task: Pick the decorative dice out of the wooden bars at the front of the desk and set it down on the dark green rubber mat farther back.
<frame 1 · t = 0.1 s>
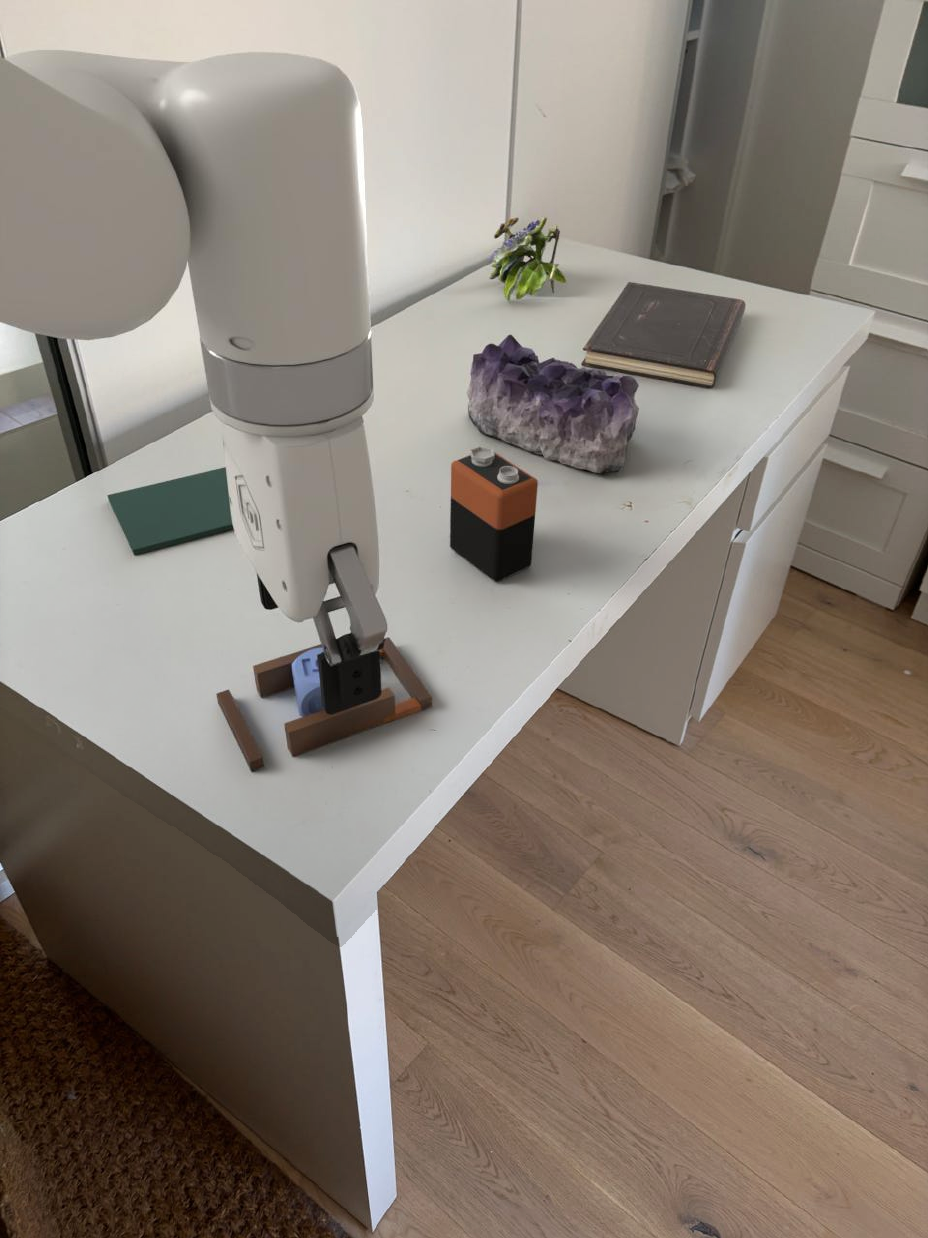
hand: (318, 649, 55), 14 cm above the table, tool pointing down, fingers open, 9 cm apart
decorative dice: (325, 706, 72), resting in wooden bars
geode: (546, 440, 103), on the table
hardcover book: (666, 341, 123), on the table
mat: (206, 505, 92), on the table
wooden bars: (325, 704, 72), on the table
battery: (489, 559, 86), on the table
passion flower: (527, 290, 135), on the table
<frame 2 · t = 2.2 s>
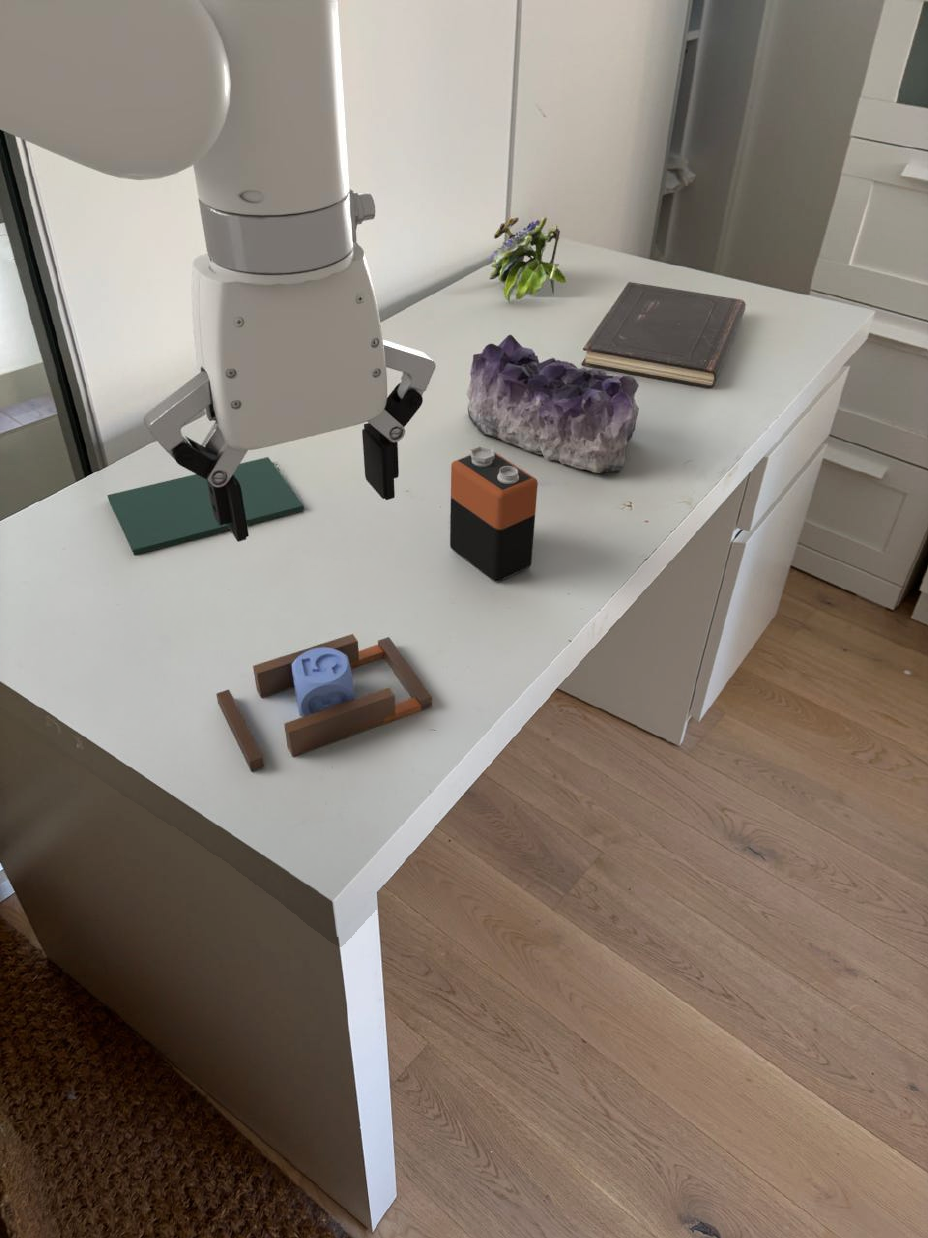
hand: (309, 508, 61), 17 cm above the table, tool pointing down, fingers open, 9 cm apart
nothing on the table moved.
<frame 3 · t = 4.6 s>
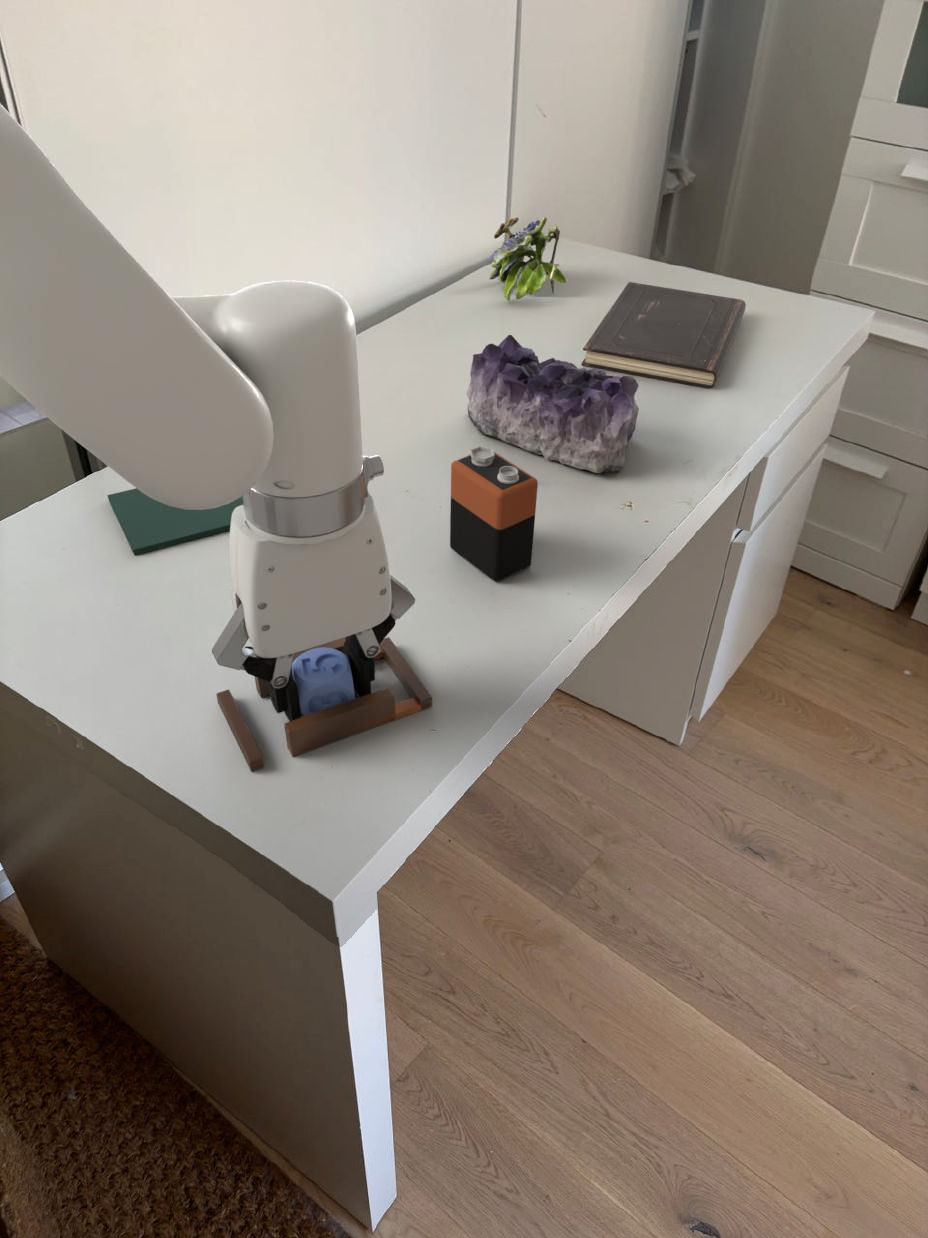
hand: (324, 698, 71), 1 cm above the table, tool pointing down, fingers closed on decorative dice, 4 cm apart
decorative dice: (325, 706, 72), resting in wooden bars, touching gripper
everything else where it was.
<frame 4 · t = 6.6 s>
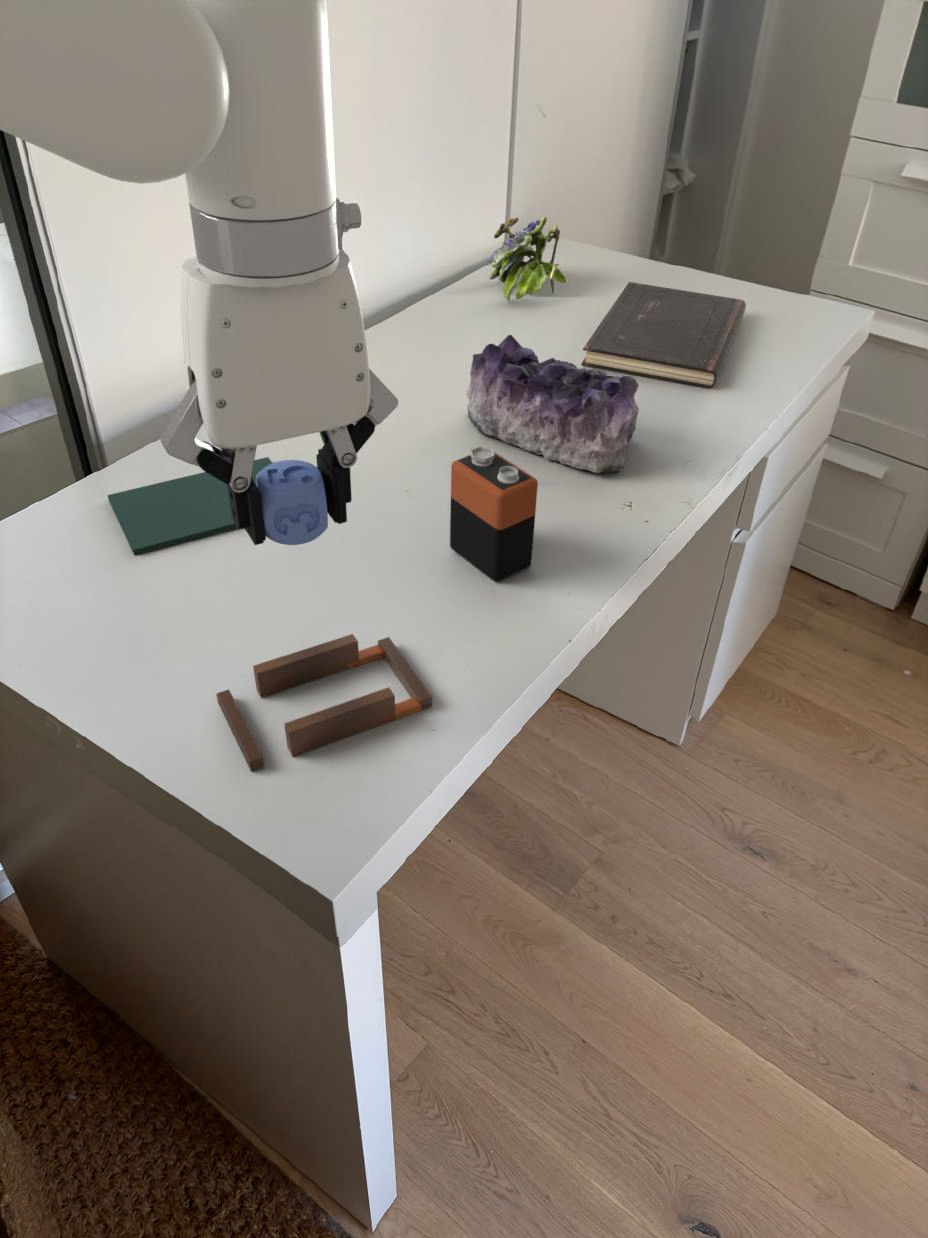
hand: (293, 520, 63), 16 cm above the table, tool pointing down, fingers closed on decorative dice, 4 cm apart
decorative dice: (294, 530, 63), point 15 cm above the table, touching gripper
everything else where it was.
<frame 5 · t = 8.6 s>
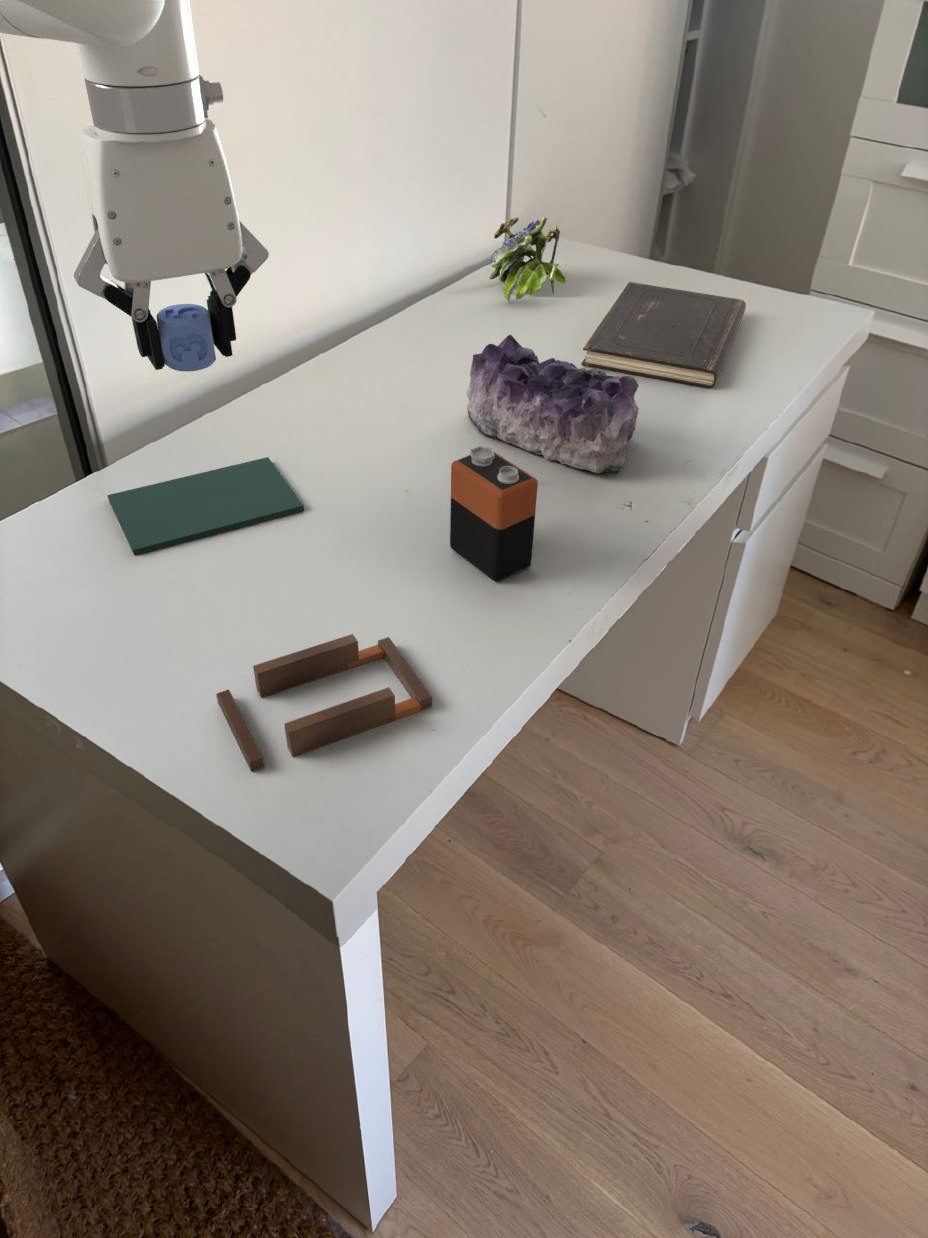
hand: (189, 354, 78), 17 cm above the table, tool pointing down, fingers closed on decorative dice, 4 cm apart
decorative dice: (191, 363, 78), point 16 cm above the table, touching gripper
everything else where it was.
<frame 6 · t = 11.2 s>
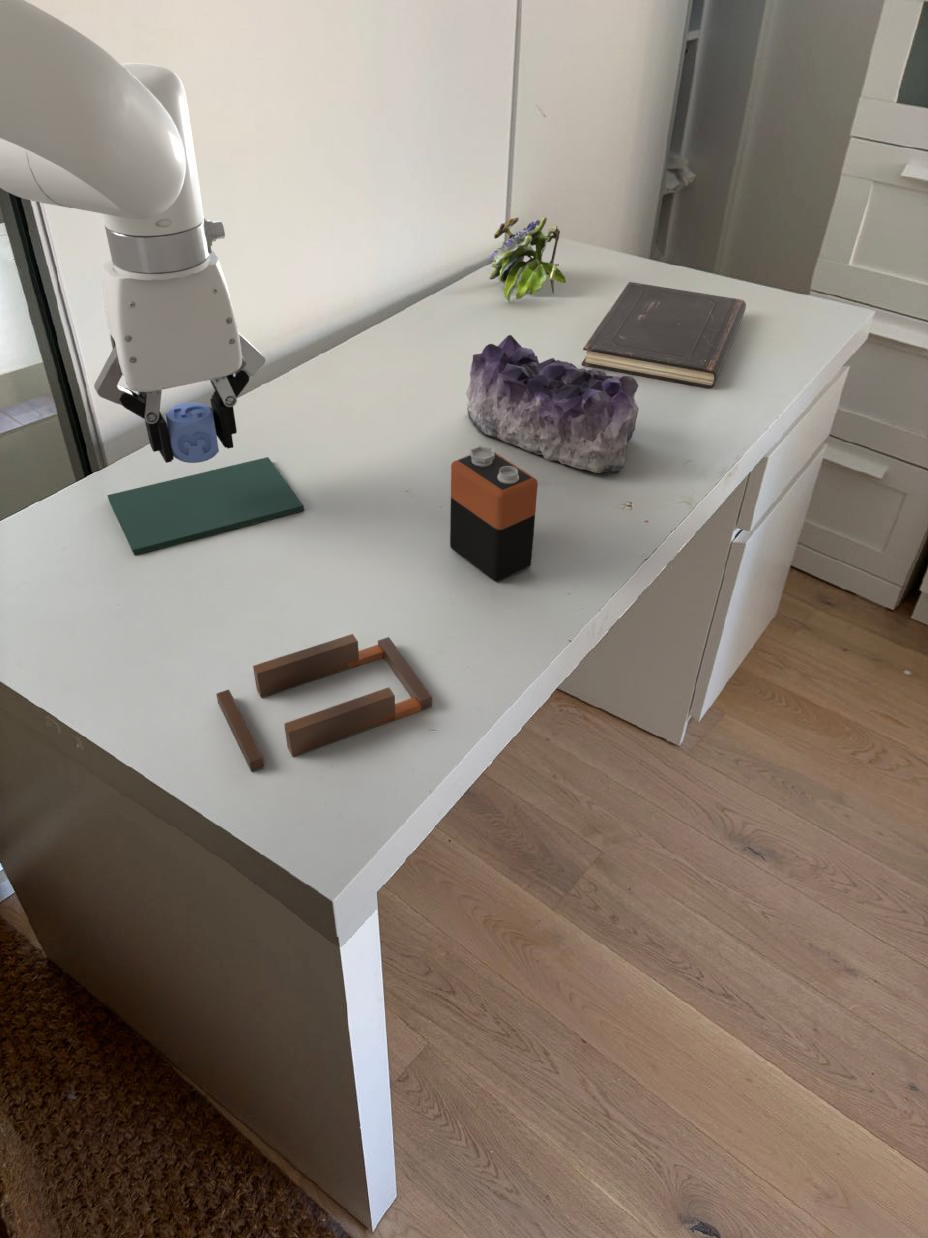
hand: (195, 446, 88), 6 cm above the table, tool pointing down, fingers closed on decorative dice, 4 cm apart
decorative dice: (196, 454, 88), point 6 cm above the table, touching gripper
everything else where it was.
when the fingers open (1 cm above the table, at t = 12.8 s): decorative dice stays where it is, resting on mat.
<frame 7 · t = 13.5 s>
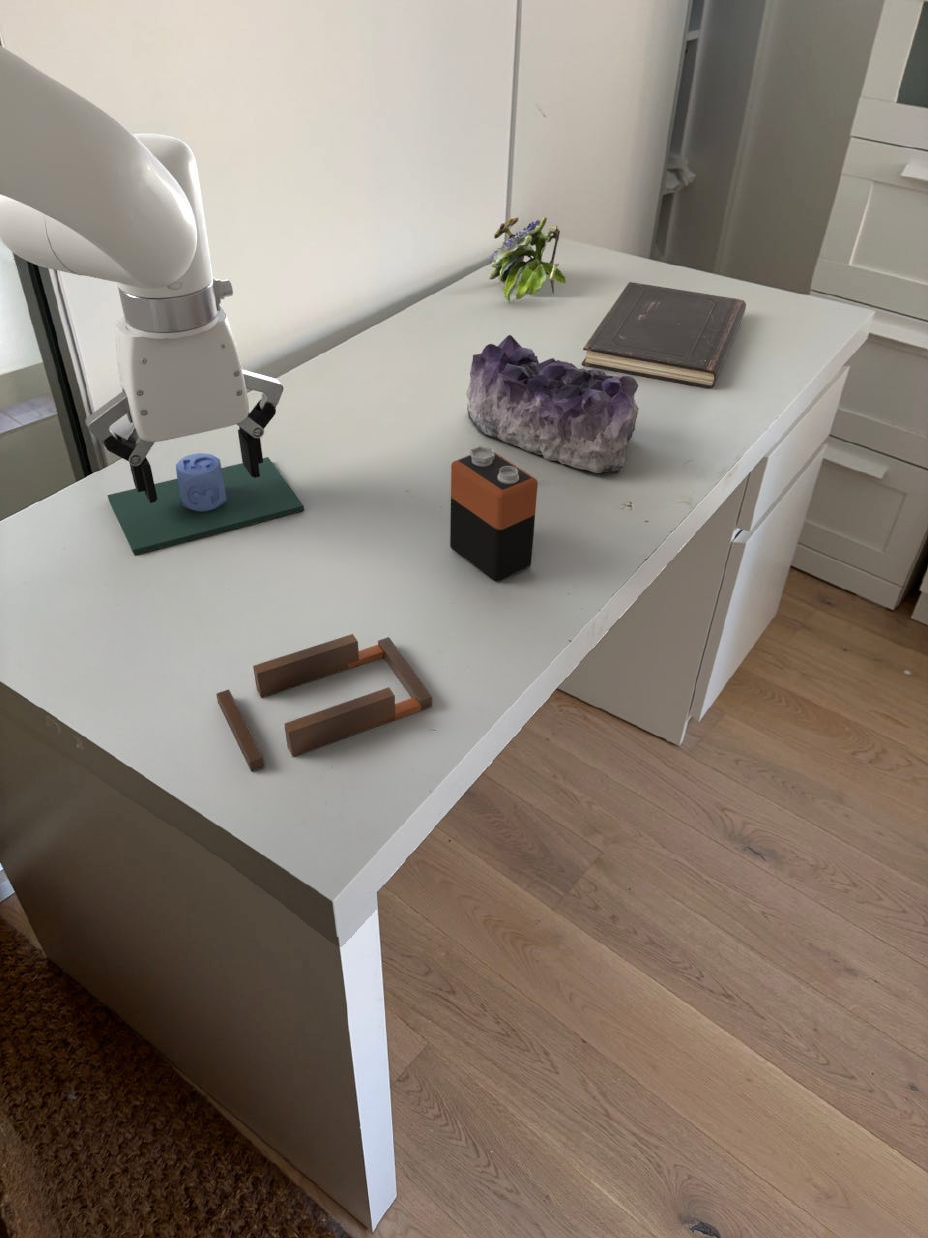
hand: (201, 482, 90), 3 cm above the table, tool pointing down, fingers open, 9 cm apart
decorative dice: (204, 502, 91), resting on mat
everything else where it was.
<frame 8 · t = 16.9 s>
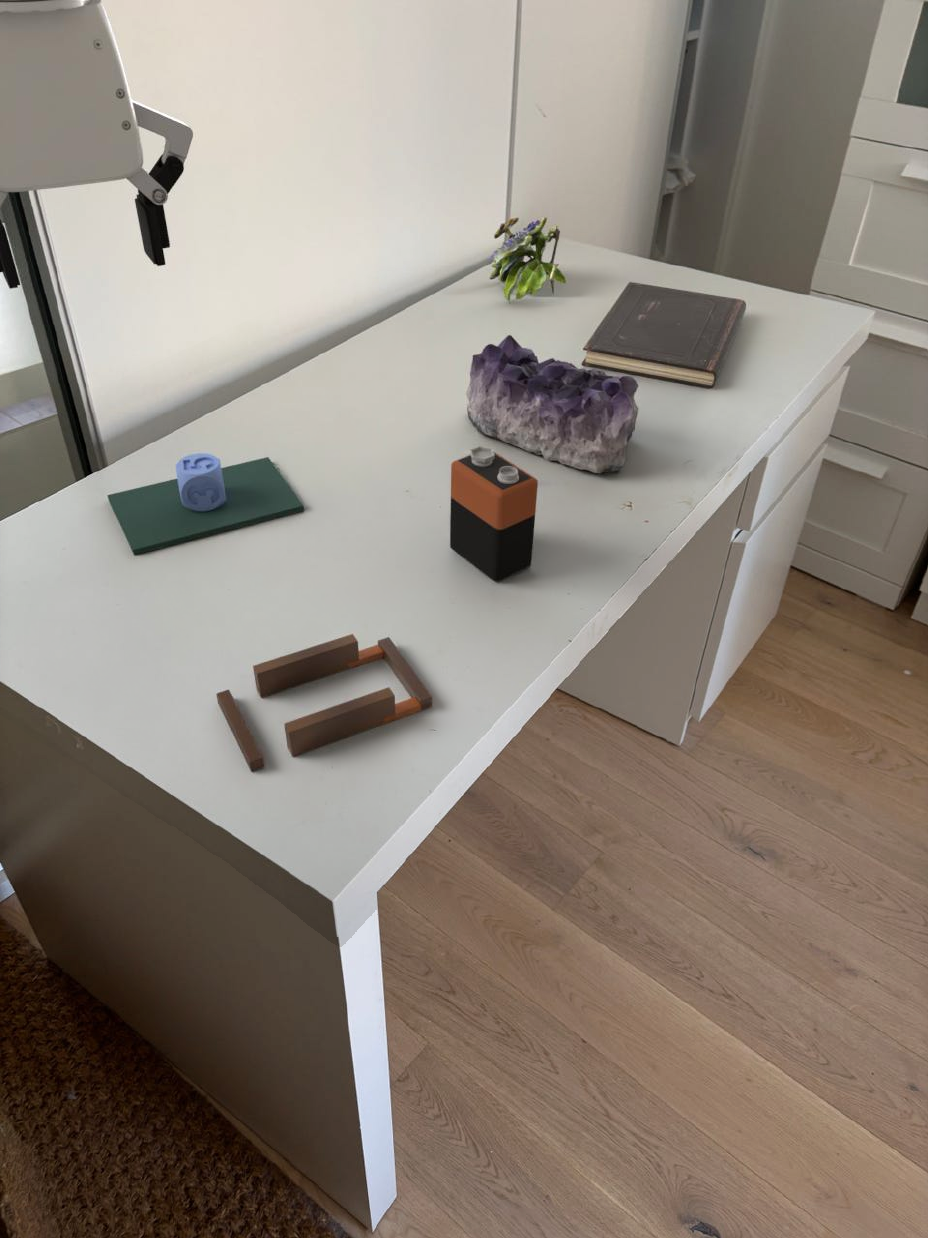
hand: (85, 270, 67), 26 cm above the table, tool pointing down, fingers open, 9 cm apart
nothing on the table moved.
at the end: decorative dice inside the target area on the mat (0.1 cm from its centre), point 0.4 cm above the mat's base; decorative dice touching mat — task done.
